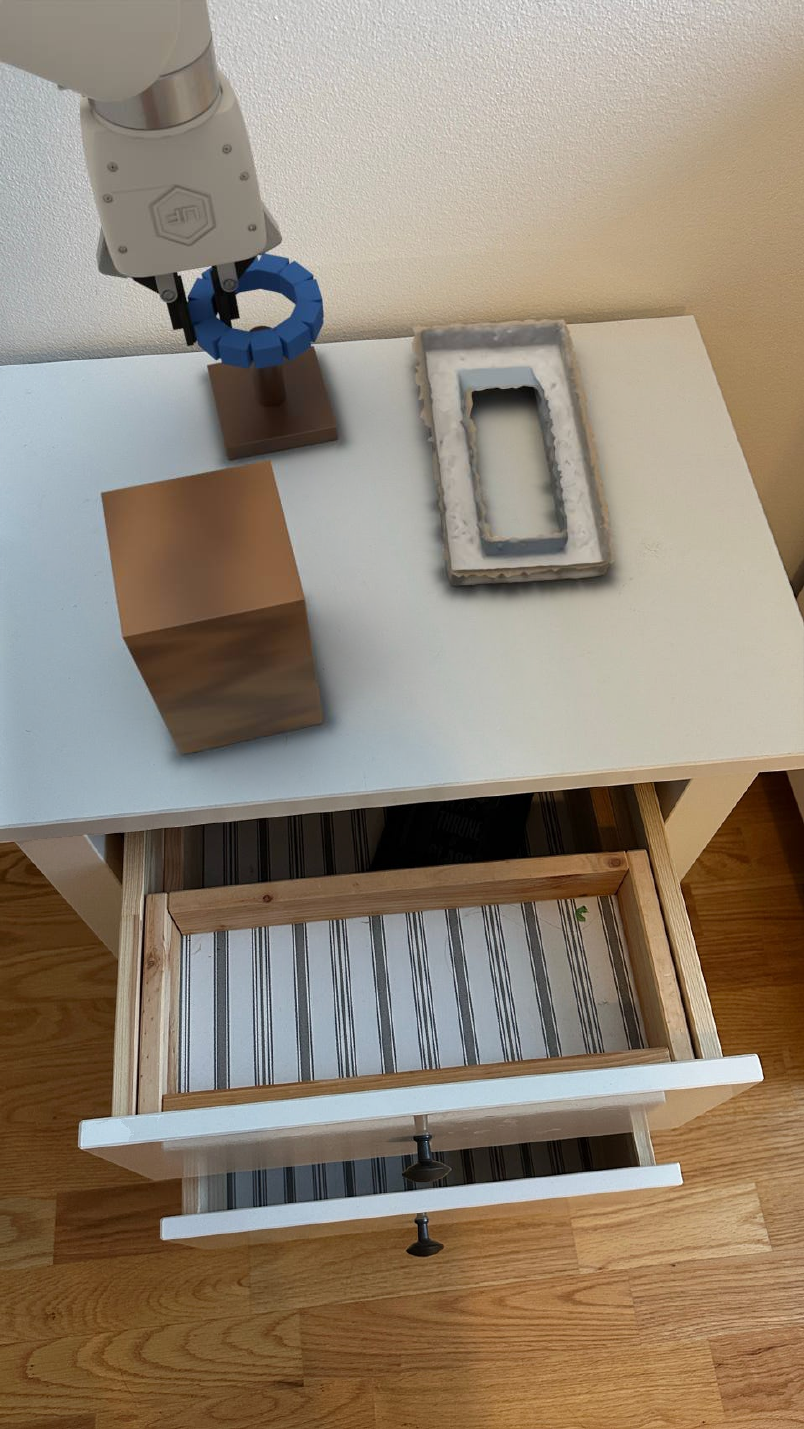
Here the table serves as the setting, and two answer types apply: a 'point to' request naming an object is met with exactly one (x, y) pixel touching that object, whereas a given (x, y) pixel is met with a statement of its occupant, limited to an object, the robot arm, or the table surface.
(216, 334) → the ring
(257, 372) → the post
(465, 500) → the picture frame
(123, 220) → the robot arm
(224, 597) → the stand
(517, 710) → the table surface
